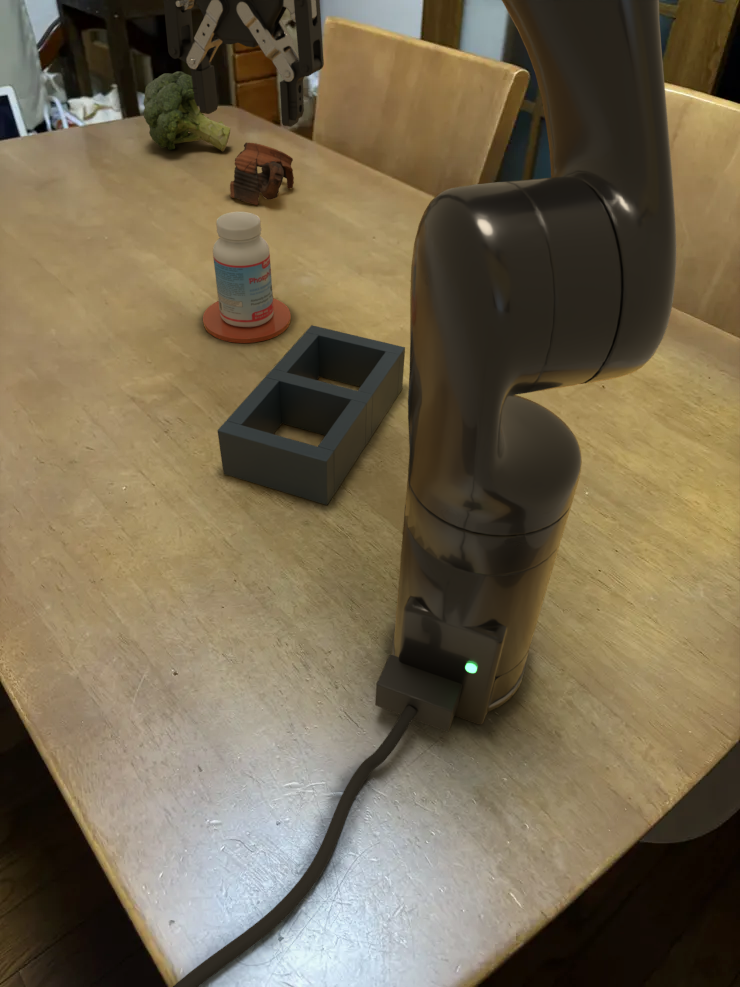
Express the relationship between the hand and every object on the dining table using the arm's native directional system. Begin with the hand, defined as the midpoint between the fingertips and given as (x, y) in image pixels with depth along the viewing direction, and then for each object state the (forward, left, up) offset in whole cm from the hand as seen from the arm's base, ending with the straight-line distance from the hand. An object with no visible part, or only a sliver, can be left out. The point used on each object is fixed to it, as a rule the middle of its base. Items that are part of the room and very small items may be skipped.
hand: (249, 118), depth 70 cm
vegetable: (+47, +39, -23) cm, 65 cm away
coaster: (+1, +3, -22) cm, 23 cm away
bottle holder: (-14, -13, -22) cm, 30 cm away
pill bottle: (+1, +3, -22) cm, 22 cm away
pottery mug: (+34, +18, -23) cm, 44 cm away
